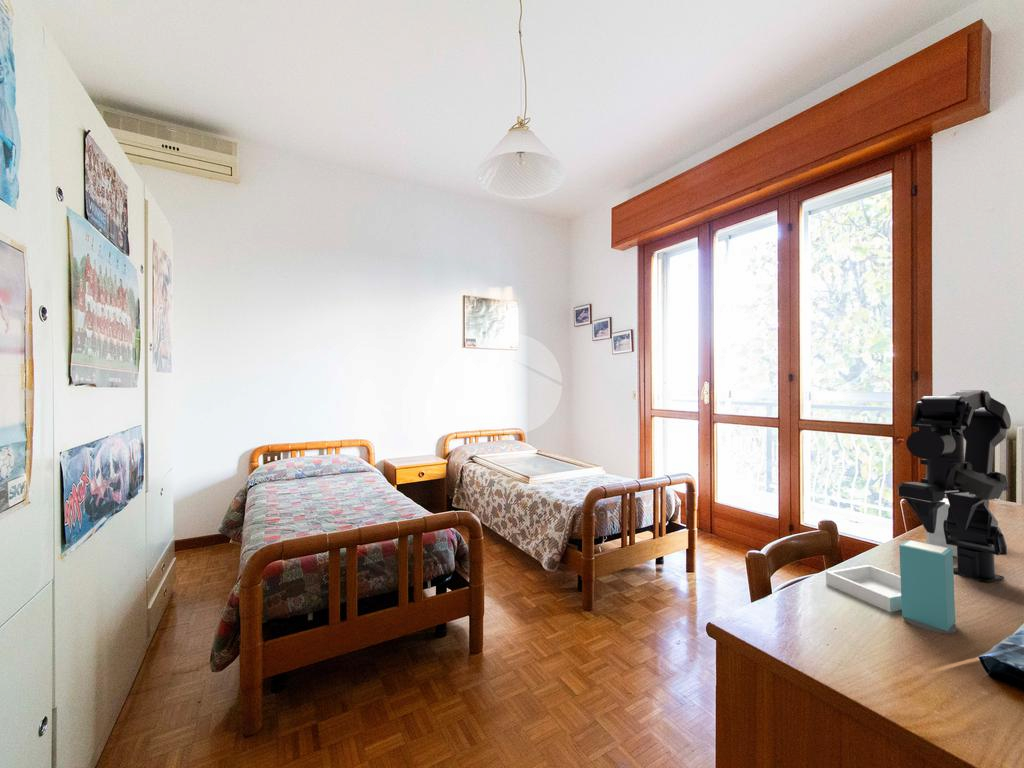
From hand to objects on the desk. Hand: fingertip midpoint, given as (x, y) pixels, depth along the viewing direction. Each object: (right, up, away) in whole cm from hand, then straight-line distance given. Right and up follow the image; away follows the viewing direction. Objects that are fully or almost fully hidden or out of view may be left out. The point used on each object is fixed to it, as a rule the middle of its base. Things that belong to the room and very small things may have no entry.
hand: (946, 531), depth 89 cm
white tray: (-14, -13, 0) cm, 19 cm away
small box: (+23, -13, +23) cm, 35 cm away
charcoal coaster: (-15, -13, -12) cm, 23 cm away
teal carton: (-15, -12, -12) cm, 22 cm away
